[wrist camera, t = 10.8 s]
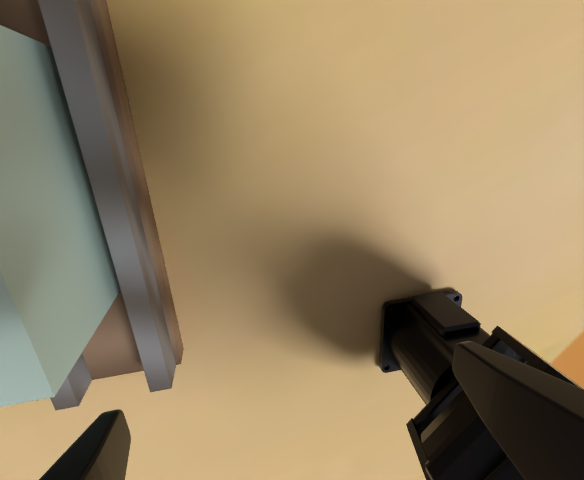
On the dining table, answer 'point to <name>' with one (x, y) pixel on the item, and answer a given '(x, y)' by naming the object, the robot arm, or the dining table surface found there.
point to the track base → (108, 195)
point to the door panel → (44, 229)
